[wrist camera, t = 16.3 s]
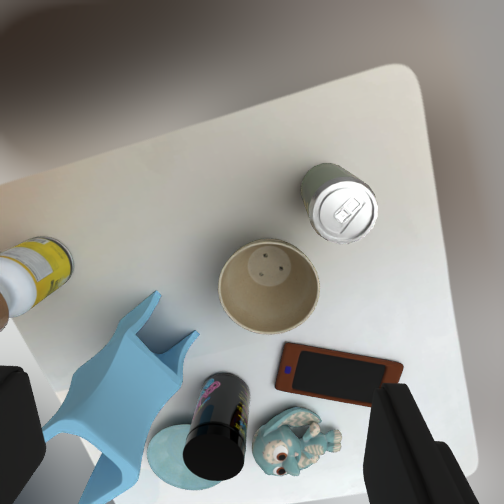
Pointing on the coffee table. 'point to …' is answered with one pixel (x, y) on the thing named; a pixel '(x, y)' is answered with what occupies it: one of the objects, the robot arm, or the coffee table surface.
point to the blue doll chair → (120, 402)
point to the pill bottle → (33, 272)
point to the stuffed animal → (292, 443)
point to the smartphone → (334, 374)
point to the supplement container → (218, 429)
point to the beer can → (338, 203)
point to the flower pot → (268, 287)
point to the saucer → (174, 459)
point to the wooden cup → (3, 312)
